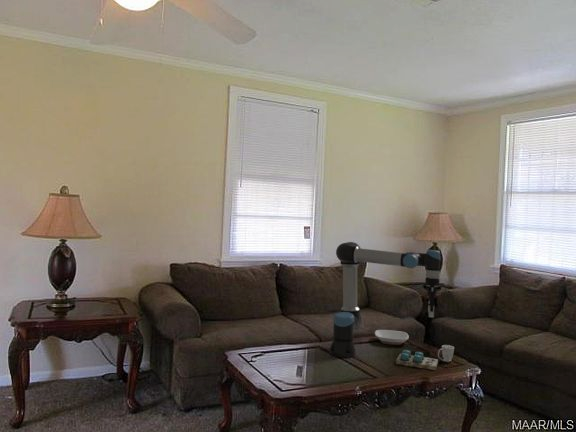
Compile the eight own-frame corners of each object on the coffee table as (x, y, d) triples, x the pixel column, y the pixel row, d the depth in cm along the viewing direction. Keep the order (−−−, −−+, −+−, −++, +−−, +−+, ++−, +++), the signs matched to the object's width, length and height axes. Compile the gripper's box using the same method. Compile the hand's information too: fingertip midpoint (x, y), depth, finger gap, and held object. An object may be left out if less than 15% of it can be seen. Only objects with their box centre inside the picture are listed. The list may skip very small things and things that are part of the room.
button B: (401, 356, 267) (402, 351, 267) (403, 354, 271) (403, 349, 271) (409, 358, 266) (409, 352, 266) (410, 355, 270) (411, 350, 270)
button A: (399, 360, 261) (400, 354, 261) (401, 357, 265) (401, 352, 265) (407, 361, 260) (408, 355, 260) (409, 359, 264) (409, 353, 264)
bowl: (374, 345, 296) (374, 337, 296) (374, 336, 318) (374, 328, 318) (409, 348, 293) (410, 339, 293) (407, 339, 314) (407, 331, 314)
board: (396, 363, 261) (396, 359, 261) (400, 357, 274) (400, 352, 273) (435, 370, 253) (435, 365, 252) (437, 362, 265) (438, 358, 265)
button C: (412, 362, 259) (413, 356, 259) (413, 359, 263) (414, 354, 263) (421, 363, 257) (421, 357, 257) (422, 361, 261) (422, 355, 261)
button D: (414, 358, 265) (414, 353, 265) (415, 356, 269) (415, 351, 269) (422, 359, 263) (422, 354, 263) (423, 357, 267) (423, 352, 267)
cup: (456, 362, 268) (457, 348, 268) (441, 363, 265) (442, 349, 265) (448, 358, 275) (449, 344, 274) (434, 359, 271) (434, 345, 271)
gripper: (440, 280, 255) (438, 320, 255) (438, 275, 279) (436, 311, 279) (426, 279, 257) (424, 318, 257) (425, 274, 281) (423, 309, 281)
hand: (430, 314), depth 268 cm, fingers open, 13 cm apart
